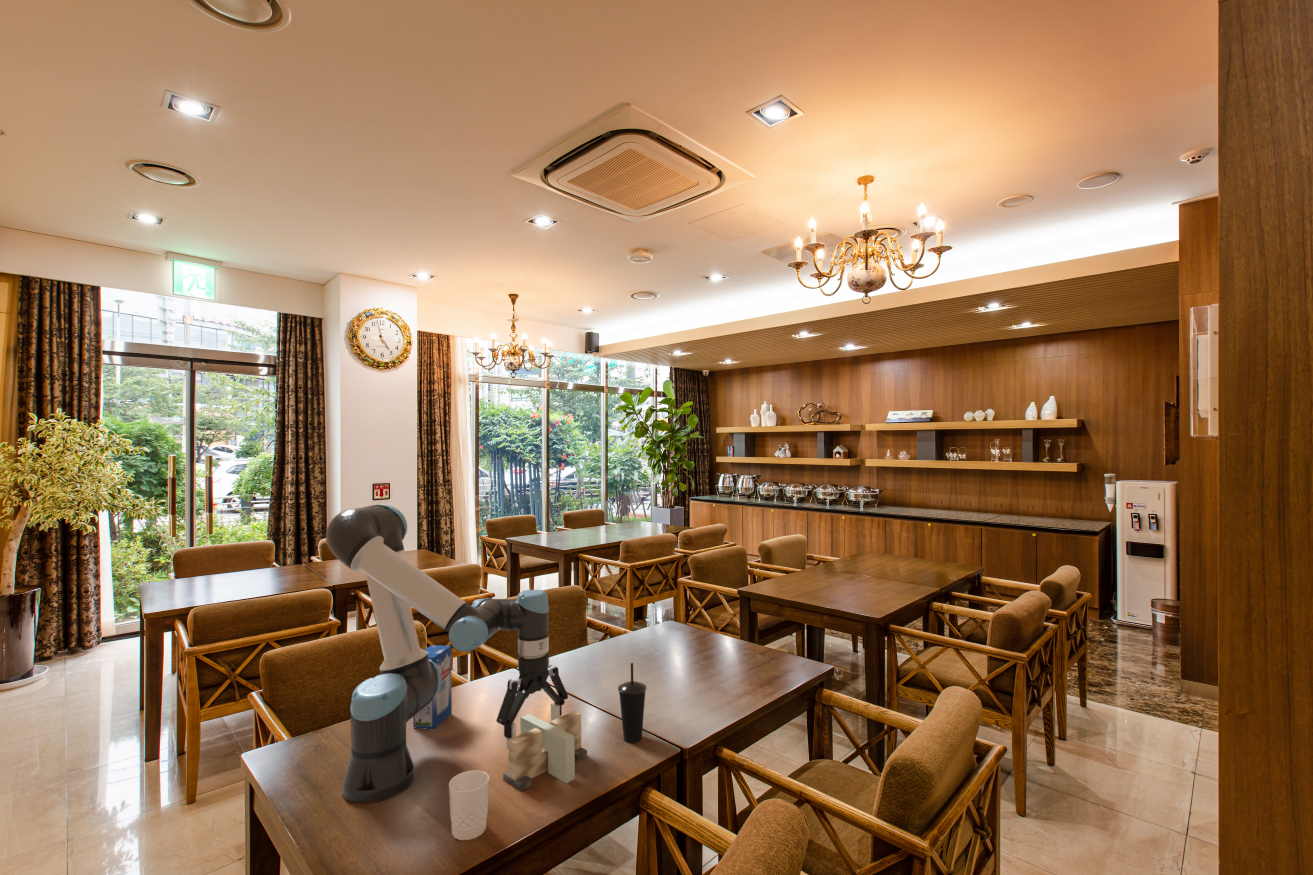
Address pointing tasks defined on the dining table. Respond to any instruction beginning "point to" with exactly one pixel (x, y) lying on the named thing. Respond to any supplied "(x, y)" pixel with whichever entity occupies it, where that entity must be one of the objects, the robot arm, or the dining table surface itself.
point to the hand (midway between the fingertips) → (534, 739)
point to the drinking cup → (632, 708)
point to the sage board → (554, 747)
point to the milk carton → (443, 699)
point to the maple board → (538, 751)
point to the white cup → (469, 804)
